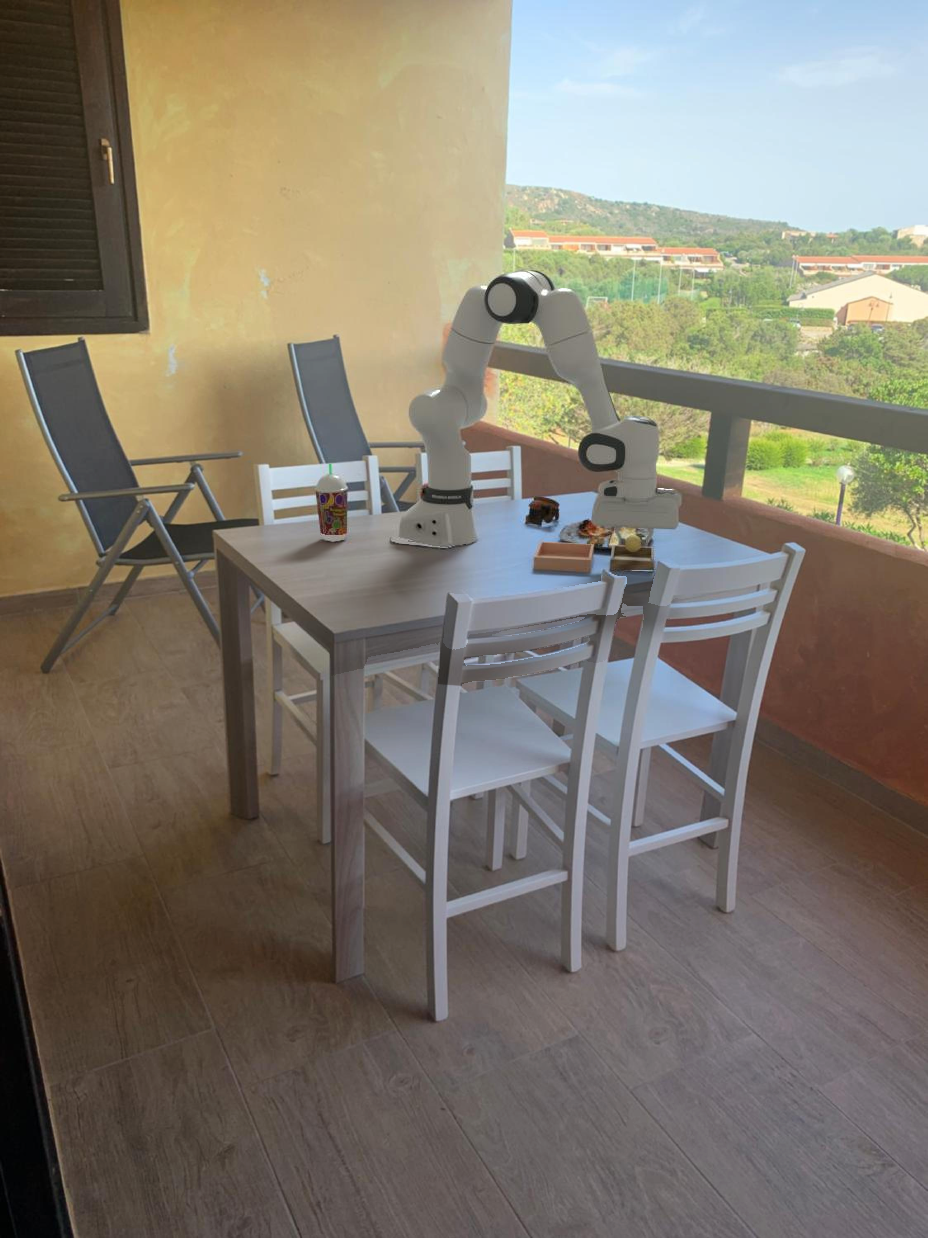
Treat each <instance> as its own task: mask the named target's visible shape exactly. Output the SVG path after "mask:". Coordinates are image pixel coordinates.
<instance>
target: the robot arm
mask: <svg viewBox="0 0 928 1238" xmlns="http://www.w3.org/2000/svg"><path fill="white" fill-rule="evenodd" d="M529 323H533V324H534V325H535V326H536V327H537V328H538V329H539V331H540V335H541V336H542V340H543V345H544V347H545V350H546V353H547V357H548V359H549V362H550V364H551V366H552V368H553V370H554V372H555V374H556V375H557V376H558V377H560V378H561V379H564V381H567V382H568V383H570V384H571V385H573V386H574V387H575V388H576V389H577V391H578V392H579V393H580V396H581V397H582V401H583V403H584V406H585V409H586V412H587V415H588V417H589V421H590V423H591V427H592V428H591V430H592V431H591V432H589V433H588V434H586V435H585V436H583V438H582V439H581V441H580V443H579V444H578V450H577V455H578V459H579V461H580V463H581V465H582V466H583V467H584V468H586V469H587V470H588V471H591V472H593V473H603V472H612V471H617V472H618V473H617V474H618V476H617V478H612V479H609V480H606V481H602V482H601V483H599V486H598V488H597V489H598V490H597V491H598V494H597V495H596V497H595V500H594V501H593V505H592V506H593V507H592V511H591V512H592V513H591V519H590V520H591V522H592V524H593V525H594V526H611V527H615V533H616V535H617V536H618V538H619V545H625V536H622V535H621V533H620V532H619V531H621V527H632V528H647V532H648V534H647V535H646V537H642V543H641V547H649V546H648V545H649V543H648V540H649V538H650V537H651V535H652V534H654V529H656V530H657V529H658V530H676V529H678V527H679V508H680V507H681V506H682V503H683V502H682V501H683V496H682V493H681V492H680V491H677V489H674V488H668V489H667V488H660V487H659V488H657V483H658V481H657V480H658V472H657V462H658V460H659V454H660V432H659V431H660V430H659V426H658V424H657V423H656V422H655V420H653V419H651V418H650V417H646V416H641V415H635V414H634V415H633V414H632V415H626V416H625V417H624V418H622V419H620V417H619V415H618V414H617V413H618V412H617V411H616V408H615V405H614V401H613V399H612V396H611V393H610V390H609V388H608V385H607V382H606V379H605V376H604V373H603V370H602V365H601V360H600V357H599V351H598V347H597V343H596V338H595V335H594V333H593V328H592V326H591V322H590V319H589V317H588V314H587V312H586V309H585V307H584V305H583V303H582V301H581V299H580V296H579V295H578V294H577V292H575V291H574V290H573V289H570V288H565V287H561V288H555V286H554V283H553V281H552V280H551V278H550V277H548V275H546V274H545V273H544V272H542V271H539V270H534V269H533V270H530V269H529V270H528V269H527V270H525V269H523V270H521V269H520V270H515V271H513V272H510V273H509V272H508V273H503V274H500V275H498V276H497V277H495V278H494V279H492V281H490V283H489V284H488V285H474V286H472V287H470V288H469V289H468V290H466V292H465V294H464V295H463V297H462V300H461V301H460V303H459V306H458V308H457V310H456V312H455V315H454V318H453V321H452V324H451V327H450V330H449V333H448V337H447V339H446V342H445V346H444V349H443V352H442V362H443V365H444V366H445V380H444V382H443V385H442V386H440V387H435V388H430V389H427V390H425V391H422V392H421V393H419V394H417V396H415V397H414V398H413V399H412V400H411V402H410V404H409V407H408V418H409V422H410V424H411V426H412V427H413V428H414V430H416V431H417V433H418V434H419V435H420V437H421V440H422V442H423V445H424V450H425V453H426V459H427V460H426V461H427V464H426V465H427V482H424V484H423V485H421V488H420V491H419V496H420V500H419V501H417V502H416V503H414V504H413V505H412V506H411V507H409V509H407V510H405V512H404V513H403V514H402V516H401V518H400V521H399V528H398V529H399V535H398V537H400V538H404V539H410V540H412V541H410V540H408V542H416V543H422V544H428V545H432V546H440V547H449V546H453V545H460V546H463V545H462V544H466V545H470V544H473V543H475V542H476V541H477V540H478V535H477V531H476V528H475V522H474V515H473V514H474V513H473V506H474V486H473V484H472V456H471V453H470V452H469V451H468V450H467V449H466V447H465V446H464V443H463V440H462V435H461V430H462V429H467V428H470V427H472V426H473V425H475V424H476V423H479V421H481V420H482V419H483V418H484V417H485V415H486V413H487V410H488V400H487V396H486V394H485V392H484V391H485V390H484V388H485V377H486V372H487V368H488V365H489V362H490V359H491V357H492V356H491V355H492V354H493V353H492V352H493V350H494V346H495V344H496V341H497V339H498V335H499V332H500V330H501V327H502V325H503V324H506V325H519V324H523V325H524V324H529ZM652 536H653V535H652ZM651 538H652V537H651ZM472 542H473V543H472Z"/></svg>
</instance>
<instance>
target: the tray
mask: <svg viewBox="0 0 928 1238" xmlns="http://www.w3.org/2000/svg"><path fill="white" fill-rule="evenodd" d="M654 568H655V547H654V546H641V548H640V549H639V550H638V551H636V552H630V551H628V550H627V549H626V547H625V546H620V545H612V549H611V552H610V562H609V571H619V570H653V571H654V570H655V569H654Z"/></svg>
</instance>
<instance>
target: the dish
mask: <svg viewBox="0 0 928 1238" xmlns="http://www.w3.org/2000/svg"><path fill="white" fill-rule="evenodd" d="M538 543H539V544H538V546H537V548H536V551H535V554H534V556H533V570H538V571H539V570H541V571H558V572H564V571H565V572H573V573H574V572H576V573H577V572H578V573H579V572H580V573H591V570H592V565H593V561H594V560H593V559H594V554H595V553H594V551H595V550H594V549H595V548H594V544H586V543H581V544H579V543H580V542H578V543H572V542H556V541H555V542H552V541H539V542H538Z"/></svg>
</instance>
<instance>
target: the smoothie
mask: <svg viewBox="0 0 928 1238" xmlns="http://www.w3.org/2000/svg"><path fill="white" fill-rule="evenodd" d="M328 471H329V472H328V474H324V475H323V476H321V477H320V479H319V480H318V481H317V484H316V486H315V487H314V490H315V498H316V499H315V500H316V506H317V516H318V523H319V531H320V534H321V533H322V534H325V535H343V534H346V533H347V534H348V494H349V493H348V489H349V487H348V486H347V483H346V482H345V480H344V478H342V477H341V476H339V475H338V474H335V473H333V470H332V463H331V462H330V463H328Z"/></svg>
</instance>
